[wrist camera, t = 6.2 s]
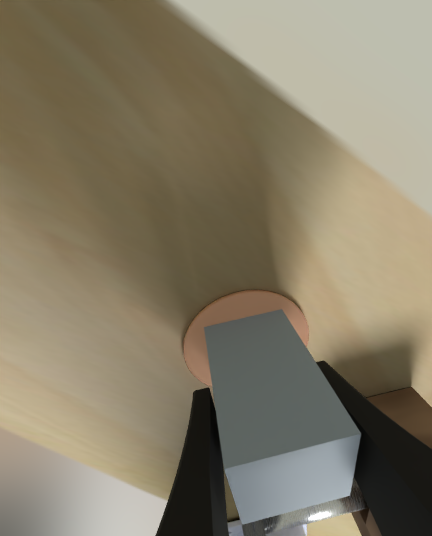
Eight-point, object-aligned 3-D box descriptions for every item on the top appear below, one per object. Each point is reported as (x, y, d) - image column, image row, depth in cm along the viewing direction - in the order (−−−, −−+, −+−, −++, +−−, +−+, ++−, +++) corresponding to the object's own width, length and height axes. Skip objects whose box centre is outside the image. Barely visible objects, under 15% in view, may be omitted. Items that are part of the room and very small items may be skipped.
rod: (346, 460, 19) (385, 534, 15) (238, 487, 18) (252, 569, 15) (350, 430, 17) (395, 506, 13) (230, 459, 17) (244, 546, 13)
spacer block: (285, 364, 14) (349, 495, 9) (217, 380, 14) (242, 524, 9) (281, 308, 12) (361, 433, 7) (203, 327, 12) (224, 468, 7)
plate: (306, 371, 15) (309, 375, 15) (198, 397, 15) (198, 401, 15) (305, 276, 12) (308, 279, 12) (168, 307, 12) (168, 310, 11)
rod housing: (396, 441, 20) (464, 535, 15) (326, 459, 20) (373, 559, 15) (411, 387, 17) (503, 482, 12) (329, 406, 17) (389, 512, 12)
